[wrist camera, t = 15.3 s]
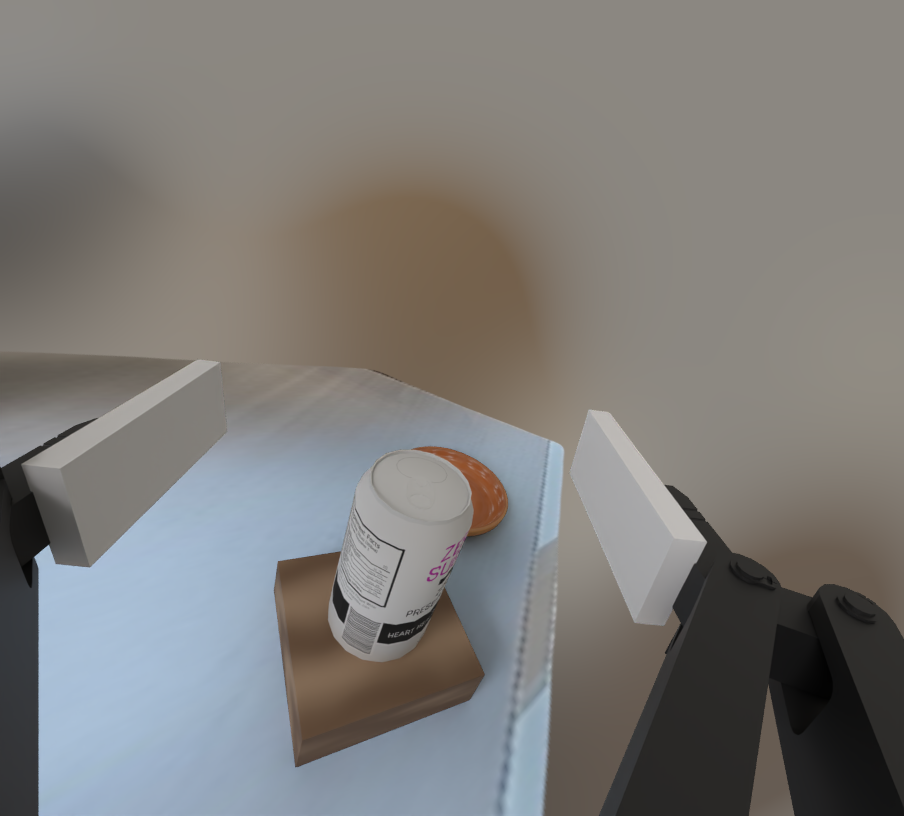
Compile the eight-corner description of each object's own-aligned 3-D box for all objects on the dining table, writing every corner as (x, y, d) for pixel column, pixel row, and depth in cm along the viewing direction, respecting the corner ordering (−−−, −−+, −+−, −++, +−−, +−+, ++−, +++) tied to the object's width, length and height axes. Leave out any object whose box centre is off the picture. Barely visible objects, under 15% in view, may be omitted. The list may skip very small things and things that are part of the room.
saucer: (434, 448, 66) (439, 432, 65) (520, 508, 60) (528, 492, 58) (358, 490, 54) (363, 472, 52) (458, 572, 47) (466, 554, 46)
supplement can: (337, 567, 38) (369, 434, 31) (426, 583, 40) (476, 458, 33) (314, 659, 31) (349, 513, 24) (423, 673, 33) (486, 540, 26)
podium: (274, 590, 39) (277, 561, 37) (412, 564, 46) (422, 538, 44) (295, 767, 29) (302, 740, 27) (469, 699, 36) (484, 674, 34)
